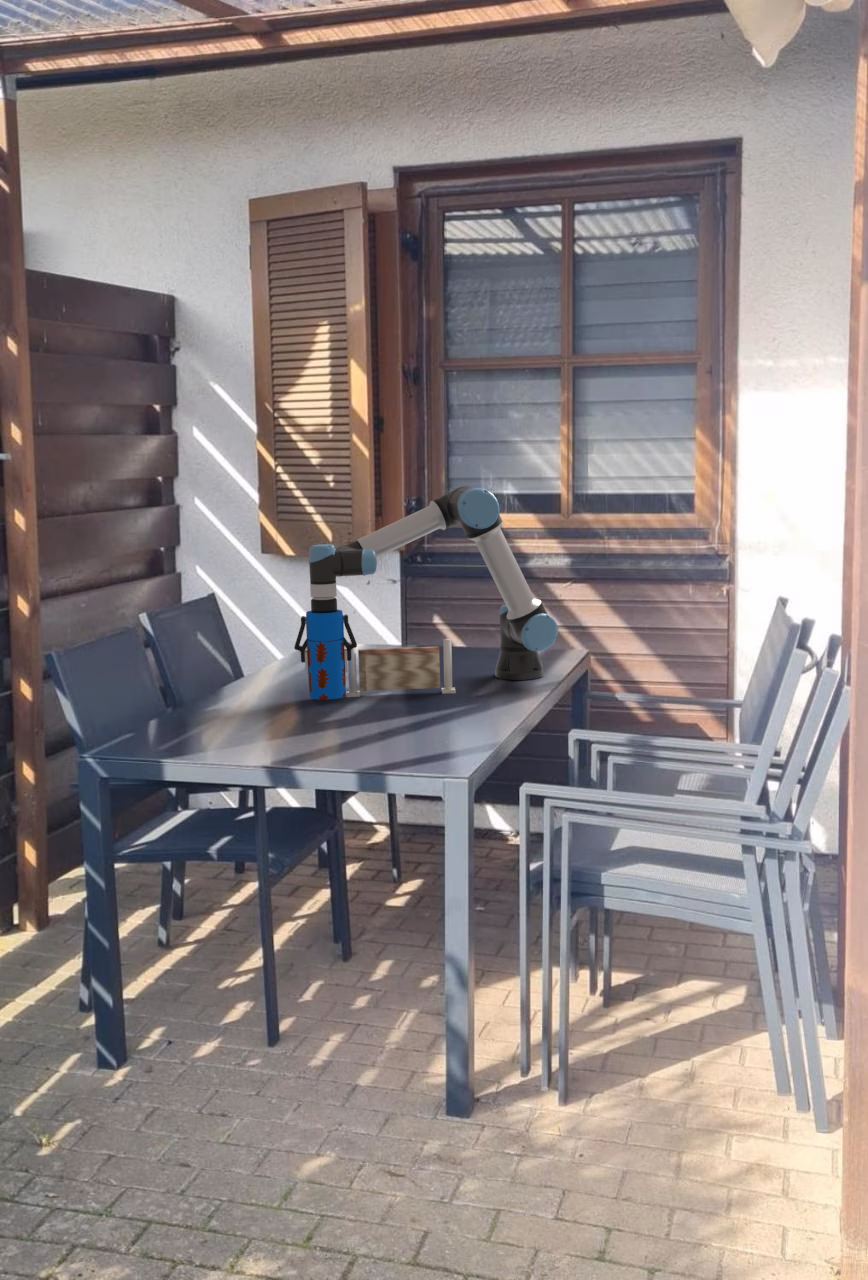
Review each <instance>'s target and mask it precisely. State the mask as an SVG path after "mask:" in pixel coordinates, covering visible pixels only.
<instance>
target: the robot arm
mask: <svg viewBox="0 0 868 1280" xmlns="http://www.w3.org/2000/svg"><path fill="white" fill-rule="evenodd" d="M503 523H504V521H503V520H502V517H501V515H500V504H499V501H498V499H497V498H496V496H495V495H494V494H493V493H492V492H491V491H489V490H488V489H486V488H484V487H480V486H479V487H478V486H473V487H472V486H466V485H465V486H460V487H456V488H454V489H452V490H450V491H448V492H446V493H444V494H443V495H441V496H439V497H437V498H435V499H433V500H431V501H430V502H429V504H428V506H426V507H424V508H422V509H420V510H418V511H415V512H413V513H411V514H409V515H407V516H405V517H402V518H400V519H398V520H396V521H394V522H392V523H390V524H388V525H386V526H383V527H381V528H378V529H377V530H375V531H373V532H371V533H369V534H366V535H364V536H362V537H360V538H357V539H356V540H353V541H352V542H349V543H346V544H341V545H339V546H336V547H335V545H334V544H331V543H324V544H323V543H322V544H313V545H311V546H310V547H309V551H308V552H309V553H308V554H309V556H308V564H309V580H310V581H309V582H310V584H309V585H310V587H309V589H310V590H309V591H310V597H311V600H310V608H311V609H310V611H311V612H316V613H328V612H337V610H338V599H337V598H336V597H337V594H338V593H337V578H338V577H350V576H352V577H353V576H368V575H373V574H375V573H376V571H377V567H378V566H377V565H378V561H377V558H380V557H382V556H383V555H386V554H388V553H390V552H392V551H394V550H397V549H399V548H401V547H403V546H406V545H407V544H409V543H411V542H414V541H416V540H418V539H420V538H422V537H424V536H427V535H428V534H431V533H433V532H435V531H437V530H443V531H445V530H447V529H449V528H452V527H455V526H461V528H462V530H463V532H464V534H465V536H466V537H467V540H469V541H473V542H474V543H475V545H476V547H477V548H478V549H477V550H478V551H479V552H480V555H481V557H482V559H483V561H484V563H485V565H486V567H487V569H488V572H489V573H490V575H491V577H492V579H493V581H494V583H495V585H496V587H497V590H498V591H499V593H500V595H501V598H502V599H503V602H504V603H505V604H503V605H501V606H500V608H499V615H498V616H499V637H500V641H499V643H500V647H499V648H500V651H499V656H498V659H497V662H496V666H495V671H494V672H495V675H494V676H495V677H496V678H498V679H502V680H510V681H511V680H512V681H514V680H515V681H521V680H522V681H524V680H526V681H527V680H534V679H535V680H536V679H539V678H542V677H543V676H544V667H543V663H542V661H541V657H540V656H539V652H542V651H545V650H548V649H549V648H551V647H552V646H553V645H554V643H555V642H556V641H557V638H558V634H559V628H558V623H557V621H556V620H555V619H554V617H553V616H552V615H550V614H548V612H547V610H546V608H545V606H544V604H543V602H542V600H541V599H539V598H535V597H534V595H533V593H532V591H531V588H530V587H529V584H528V582H527V581H526V578H525V576H524V574H523V572H522V570H521V568H520V566H519V564H518V561H517V558H516V557H515V556H514V554H513V551H512V550H511V546H510V545H509V543H508V541H507V539H506V537H505V535H504V533H503V531H502V525H503ZM343 624H344V627H345V630H346V632H347V635H348V637H349V640H350V642H351V643H352V644H349V643H348V642H349V641H348V640H347V639H346V637H345V636H344V637H343V638H342V639H343V641H344V653H345V674H346V673H347V674H348V661H351V649H353V648H357V647H358V644H357V641H356V638H355V636H354V633H353V631H352V627H351V626H350V622H349V615H348V614H343ZM305 629H306V615H302V616H300V627H299V631H298V634H297V638H296V641H295V644H294V647H293V648H294V650H295V651H298V652H300V661H301V663H304V669H305V671H304V672H305V675H308V654H307V640H308V639H307V638H306V639H305V640H304V642H303V644H302V645H300V644H301V641H302V637H303V634H304V631H305Z"/></svg>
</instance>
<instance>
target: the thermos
mask: <svg viewBox="0 0 868 1280" xmlns="http://www.w3.org/2000/svg"><path fill="white" fill-rule="evenodd" d="M343 615H344V614H343V610H342V609H337V612H328V613H316V612H311V610H308V611H306V612H305V617H306V624H305V629H306V630H305V631H306V639H308V640H307V647H306V651H307V654H308V674H307V675H308V677H307V678H308V690H309V698H310V699H313V700H322V701H323V700H336V699H337V700H338V699H343V698H344V697H346V690H347V689H346V687H347V685H346V684H347V682H346V677H347V676H346V673H345V653H344V649H345V646H344V641H343V639H342V638H343V637H345V635H344V634H345V632H344V631H345V630H344V629H345V628H344V627H345V625H344V623H343Z"/></svg>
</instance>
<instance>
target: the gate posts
mask: <svg viewBox="0 0 868 1280" xmlns="http://www.w3.org/2000/svg"><path fill="white" fill-rule="evenodd" d="M442 641H443V643H442V645H443V681H444V683H443V684H444V687H440V688H441V694H442V695H445V694H456V693H457V691H456V687H455V686H454V687H453V661H452V660H453V656H452V655H453V654H452V652H453V651H452V639H451V638H443V640H442ZM348 643H349V644H352V643H351V641H348ZM356 648H357V647H356ZM356 648H353V649H351V661H347V662H348V673H347V675H348V691H346V696H345V697H346V698H357V697H359V698H360V697H361V693H360V692H361V691H360V690H358V686H357V685H358V680H357V656H356V655H357V654H356V653H357V651H356Z"/></svg>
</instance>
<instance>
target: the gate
mask: <svg viewBox="0 0 868 1280" xmlns="http://www.w3.org/2000/svg"><path fill="white" fill-rule="evenodd" d="M357 651H358V652H357V653H358V673H359V674H358V676H359V680H358V681H359V683H358V684H359V691H360V692H368V691H369V692H370V691H392V690H393V691H394V690H395V691H396V690H418V689H419V690H420V689H423V690H425V689H440V688H441V665H440V646H438V645H437V646H416V647H415V646H414V647H411V646H410V647H384V648H380V647H379V648H358V649H357Z"/></svg>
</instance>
